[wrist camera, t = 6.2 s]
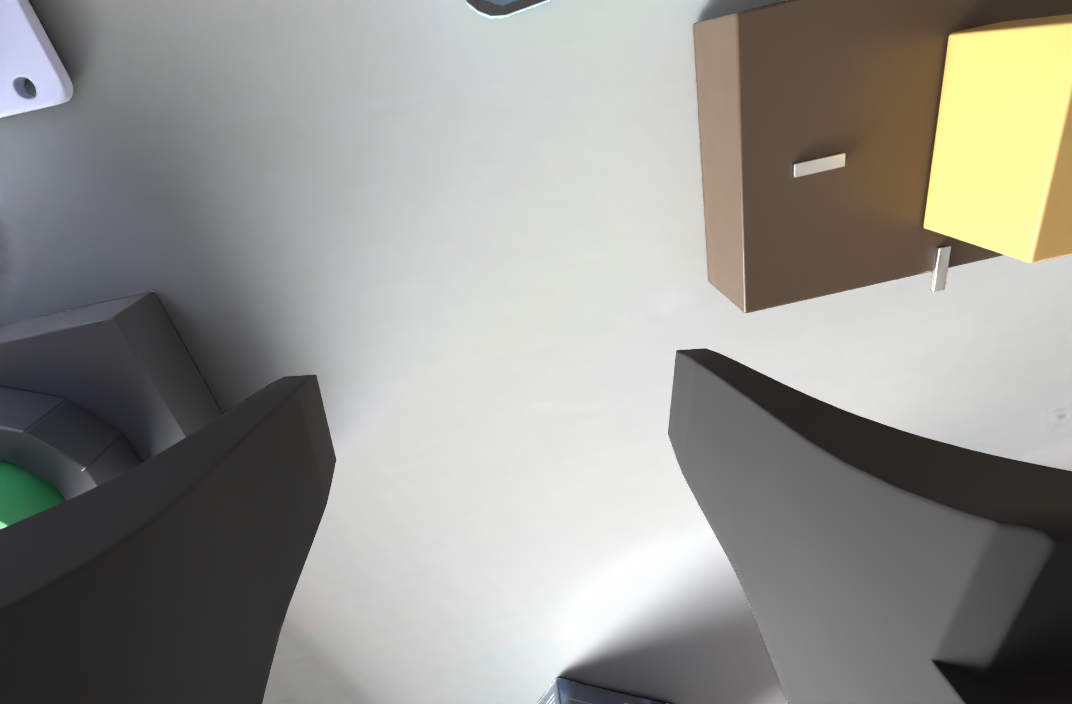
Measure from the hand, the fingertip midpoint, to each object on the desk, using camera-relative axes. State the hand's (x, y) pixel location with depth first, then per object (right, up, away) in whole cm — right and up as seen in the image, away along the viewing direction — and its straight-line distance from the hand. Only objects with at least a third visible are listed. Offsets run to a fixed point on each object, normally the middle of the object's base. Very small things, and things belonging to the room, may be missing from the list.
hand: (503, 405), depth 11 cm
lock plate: (+12, +8, +6) cm, 16 cm away
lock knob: (+12, +7, +4) cm, 14 cm away
